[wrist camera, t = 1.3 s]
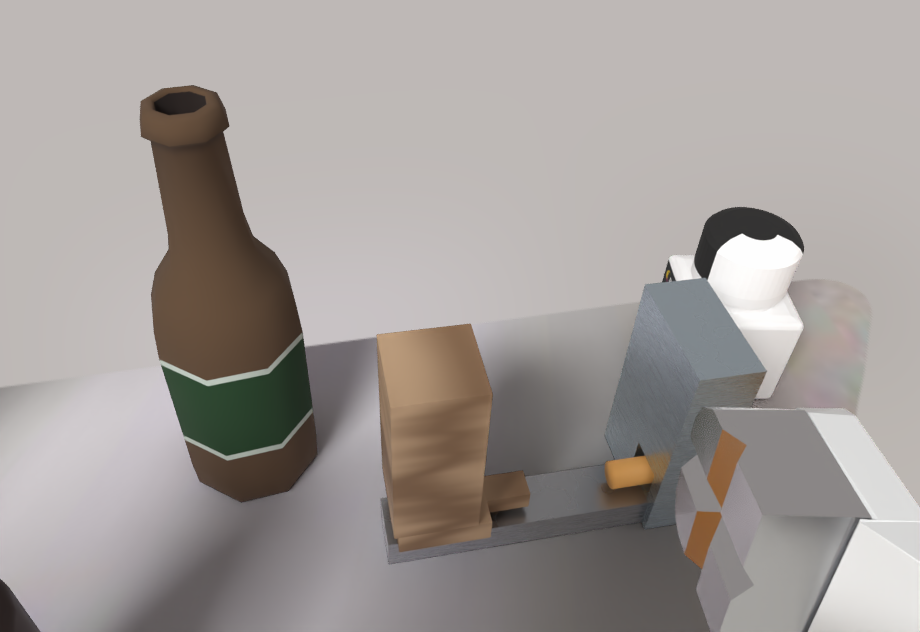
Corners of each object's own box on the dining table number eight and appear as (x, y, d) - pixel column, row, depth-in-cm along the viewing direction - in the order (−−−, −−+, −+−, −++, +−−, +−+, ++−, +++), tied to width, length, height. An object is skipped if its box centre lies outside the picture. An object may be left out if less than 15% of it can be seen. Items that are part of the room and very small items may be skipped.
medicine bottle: (647, 327, 59) (685, 193, 51) (741, 328, 59) (794, 195, 51) (668, 400, 54) (715, 264, 46) (771, 401, 54) (836, 266, 46)
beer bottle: (278, 386, 53) (218, 42, 37) (345, 460, 49) (311, 110, 33) (169, 445, 49) (48, 90, 33) (232, 530, 45) (129, 173, 29)
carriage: (394, 554, 42) (390, 407, 34) (383, 483, 45) (376, 334, 37) (534, 530, 43) (563, 384, 35) (514, 464, 47) (536, 316, 38)
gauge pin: (612, 494, 45) (617, 478, 44) (602, 472, 46) (607, 455, 45) (693, 481, 46) (699, 465, 45) (682, 459, 47) (688, 443, 46)
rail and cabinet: (390, 572, 44) (384, 423, 35) (373, 469, 49) (365, 315, 40) (699, 519, 47) (767, 371, 38) (655, 428, 52) (705, 277, 43)
